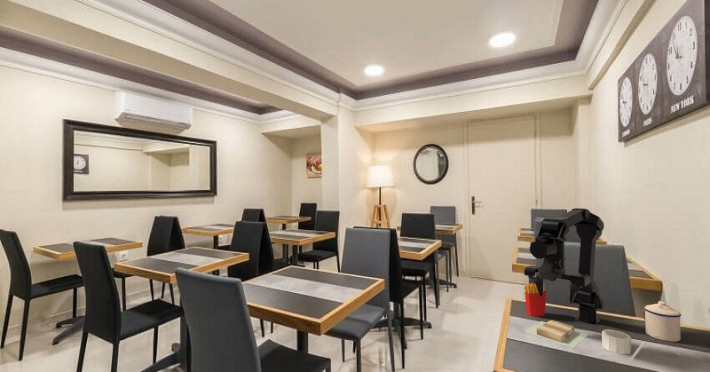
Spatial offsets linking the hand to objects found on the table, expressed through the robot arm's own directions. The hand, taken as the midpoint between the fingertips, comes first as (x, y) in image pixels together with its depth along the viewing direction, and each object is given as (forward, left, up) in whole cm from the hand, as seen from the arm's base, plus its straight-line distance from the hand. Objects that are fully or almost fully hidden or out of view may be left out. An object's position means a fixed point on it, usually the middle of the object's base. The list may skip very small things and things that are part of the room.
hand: (555, 299), depth 111 cm
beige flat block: (0, 0, -12) cm, 12 cm away
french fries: (-12, -12, -12) cm, 21 cm away
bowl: (-3, +16, -12) cm, 20 cm away
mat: (0, 0, -12) cm, 12 cm away
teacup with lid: (-28, +22, -12) cm, 38 cm away
